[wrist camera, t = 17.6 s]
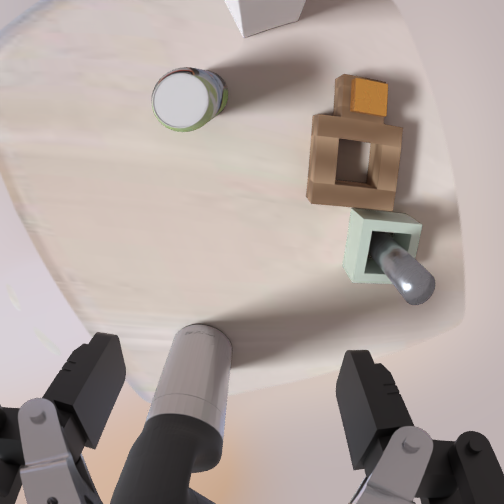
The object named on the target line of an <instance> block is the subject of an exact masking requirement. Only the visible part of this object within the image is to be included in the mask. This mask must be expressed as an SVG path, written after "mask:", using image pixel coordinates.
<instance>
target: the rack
mask: <svg viewBox="0 0 504 504" xmlns="http://www.w3.org/2000/svg"><path fill="white" fill-rule="evenodd" d="M421 230H422V224H421V223H419V222H418V221H416V220H415V219H413V218H412V217H410V216H408V215H407V214H404V213H395V212H385V211H376V210H366V209H355V208H351V215H350V222H349V229H348V235H347V242H346V248H345V254H344V260H343V268H344V269H345V271H346V273H347V275H348V276H349V278H350V280H351V282H352V283H375V284H393V283H392V282H391V281H390V279H389V278H388V277H387V276H386V274H385V273H384V272H383V271H382V269H381V268H380V267H379V266H378V264H377V263H376V262H375V261H374V260H373V259H371V258H367V256H368V251H369V245H370V240H371V234H372V231H382V232H393V233H394V235H393V239H394V240H395V241H396V242H397V243H398V244H399V245H401V246H402V247H403V248H404V249H405V250H406V251H407V252H408V253H409V254H410V255H411V256H412V257H414V258H415V257H416V253H417V249H418V244H419V239H420V235H421Z"/></svg>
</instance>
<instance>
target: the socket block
mask: <svg viewBox="0 0 504 504" xmlns="http://www.w3.org/2000/svg"><path fill="white" fill-rule="evenodd" d="M355 78H360V79H365V80H370V81H375V82H380V83H384V84H386V82H383V81H378V80H373V79H368V78H363V77H358V76H353V75H347V74H343V75H341V76H340V77H338V78H337V79H335V95H334V112H333V116H330V115H322V114H318V115H314V116H313V119H312V134H311V147H310V159H309V171H308V183H307V194H306V197H307V198H308V200H309V201H310V202H311V204H321V205H333V206H344V207H355V208H365V209H375V210H385V211H393V206H394V200H395V193H396V186H397V179H398V171H399V162H400V153H401V143H402V132H403V128H401V127H396V126H391V125H386V124H384V117H379V116H374V115H368V114H362V113H356V112H350V104H351V85H352V80H353V79H355ZM339 138H340V139H348V140H355V141H362V142H369V143H371V146H370V156H369V166H368V174H367V183H360V182H351V181H342V180H335V177H336V167H337V156H338V145H339Z"/></svg>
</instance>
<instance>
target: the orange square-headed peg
mask: <svg viewBox="0 0 504 504" xmlns="http://www.w3.org/2000/svg"><path fill="white" fill-rule="evenodd" d="M387 98H388V84H384V83H380V82H375V81H370V80H365V79H360V78H355V79H353V80H352V85H351V104H350V112H356V113H362V114H368V115H374V116H379V117H386V114H387Z"/></svg>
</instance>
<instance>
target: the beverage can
mask: <svg viewBox="0 0 504 504" xmlns="http://www.w3.org/2000/svg"><path fill="white" fill-rule="evenodd" d="M227 100H228V89H227V86H226V84H225V82H224V80H223V79H222V78H221V77H220V76H219V75H217V74H216V73H213V72H210V71H206V70H201V69H196V68H188V67H184V68H178V69H174V70H172V71H170V72H168V73H167V74H165V75H164V76H163V77H162V78H161V79H160V80H159V81H158V82H157V84H156V86H155V88H154V90H153V93H152V108H153V112H154V114H155V116H156V118H157V119H158V121H159V122H160V123H161V124H162V125H164V126H165V127H167V128H169V129H171V130H174V131H178V132H189V131H193V130H196V129H198V128H200V127H202V126H203V125H205V124H206V123H207V122H209V121H210V120H211V119H213V118H214V117H215V116H216V115H218V114H219V113H220V112H221V111H222V110H223V109H224V107H225V105H226V103H227Z"/></svg>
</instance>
